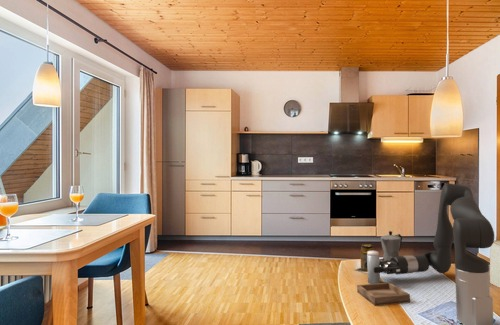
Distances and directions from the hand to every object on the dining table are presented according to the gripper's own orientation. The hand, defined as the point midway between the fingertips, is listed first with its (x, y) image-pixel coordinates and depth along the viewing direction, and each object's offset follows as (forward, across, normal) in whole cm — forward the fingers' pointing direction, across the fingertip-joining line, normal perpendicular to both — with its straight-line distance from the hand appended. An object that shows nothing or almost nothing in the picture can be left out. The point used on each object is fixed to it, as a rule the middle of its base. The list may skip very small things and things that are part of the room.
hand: (369, 267), depth 155 cm
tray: (+3, +16, +7) cm, 18 cm away
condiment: (-7, -17, +7) cm, 20 cm away
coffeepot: (-21, -17, +7) cm, 28 cm away
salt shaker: (-2, 0, +7) cm, 7 cm away
